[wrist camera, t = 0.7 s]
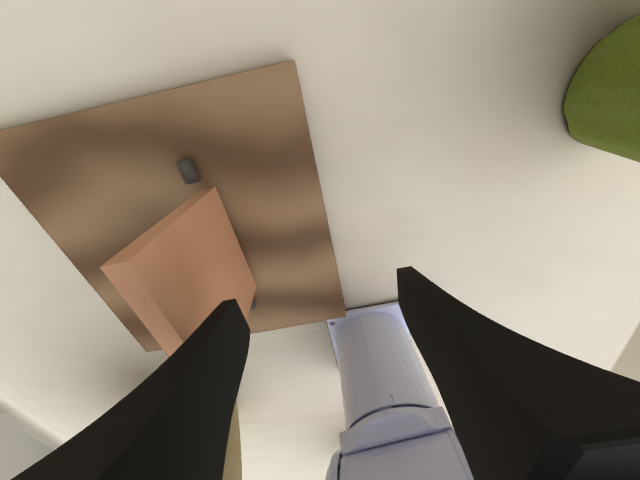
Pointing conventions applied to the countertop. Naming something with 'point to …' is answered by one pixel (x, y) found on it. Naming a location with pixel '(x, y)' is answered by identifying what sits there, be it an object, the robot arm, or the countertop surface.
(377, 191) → the countertop surface
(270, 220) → the board
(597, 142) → the plant pot
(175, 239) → the tile
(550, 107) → the countertop surface
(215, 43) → the countertop surface
